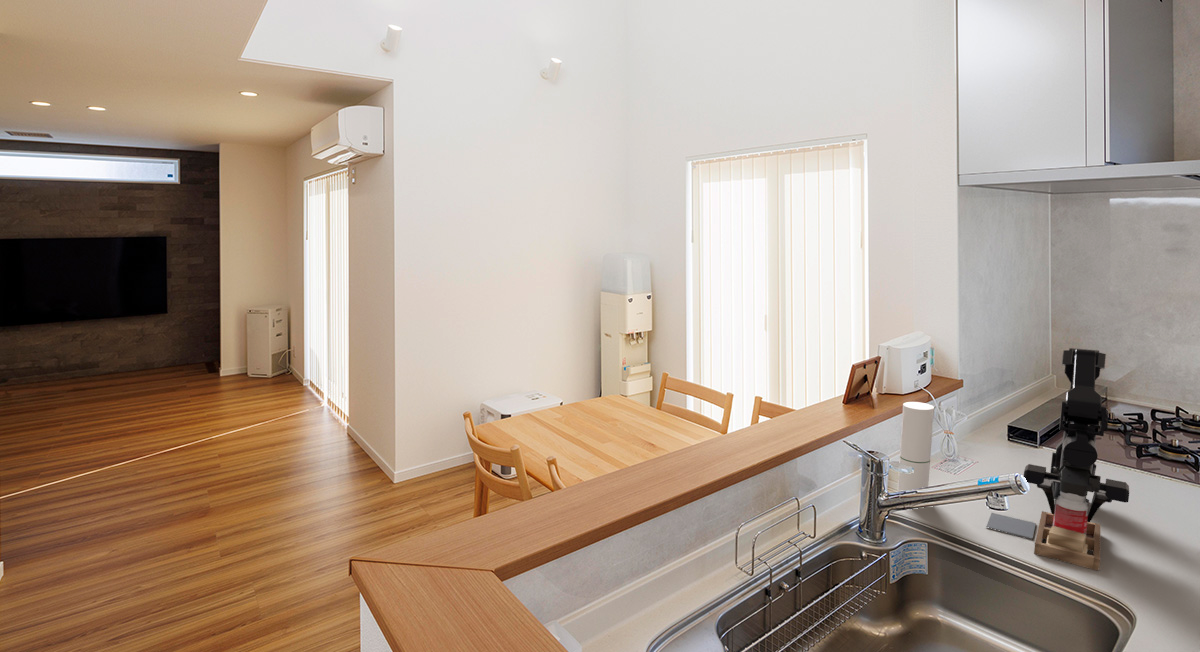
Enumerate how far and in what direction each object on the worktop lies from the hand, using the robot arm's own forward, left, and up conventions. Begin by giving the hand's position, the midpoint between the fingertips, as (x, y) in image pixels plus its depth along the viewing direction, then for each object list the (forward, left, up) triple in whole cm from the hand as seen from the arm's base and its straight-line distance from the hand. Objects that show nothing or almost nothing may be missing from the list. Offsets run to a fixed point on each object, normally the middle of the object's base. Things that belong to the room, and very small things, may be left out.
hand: (1070, 517), depth 140 cm
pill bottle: (0, 0, -5) cm, 5 cm away
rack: (+3, -3, -4) cm, 6 cm away
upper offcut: (+6, -7, -3) cm, 10 cm away
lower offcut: (+6, -7, -5) cm, 11 cm away
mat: (-7, -9, -4) cm, 12 cm away
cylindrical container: (-26, -20, -5) cm, 33 cm away
